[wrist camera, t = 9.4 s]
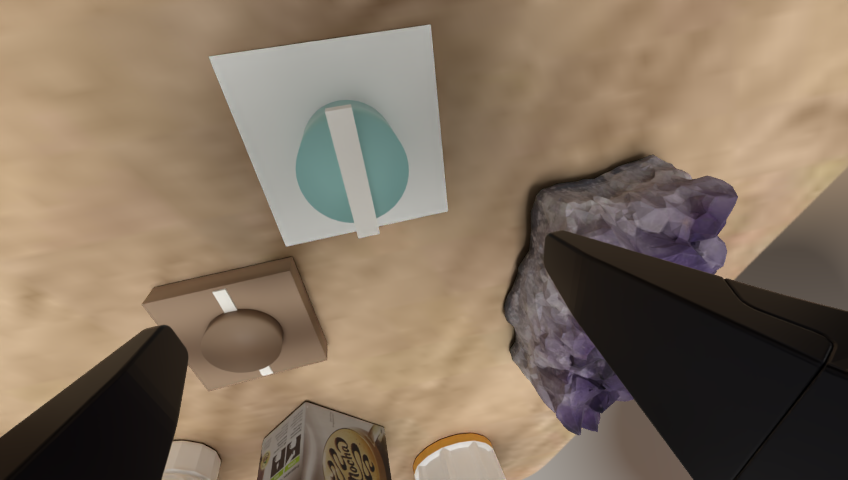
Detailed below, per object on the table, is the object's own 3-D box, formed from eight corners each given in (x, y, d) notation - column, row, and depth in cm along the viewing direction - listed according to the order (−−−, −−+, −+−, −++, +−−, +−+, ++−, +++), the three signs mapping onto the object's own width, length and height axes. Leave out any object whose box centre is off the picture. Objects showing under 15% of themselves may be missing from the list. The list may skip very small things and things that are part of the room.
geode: (595, 348, 34) (663, 455, 26) (482, 351, 33) (515, 466, 24) (696, 147, 23) (872, 220, 15) (533, 140, 22) (624, 216, 13)
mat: (211, 56, 15) (208, 56, 15) (428, 24, 16) (430, 24, 16) (286, 243, 20) (286, 246, 20) (446, 208, 22) (448, 211, 21)
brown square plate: (153, 287, 20) (132, 317, 18) (292, 256, 21) (287, 281, 19) (214, 373, 24) (203, 404, 22) (327, 343, 25) (326, 371, 23)
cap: (286, 100, 16) (272, 120, 12) (385, 83, 17) (401, 98, 13) (319, 204, 19) (316, 247, 15) (402, 187, 20) (419, 224, 16)
